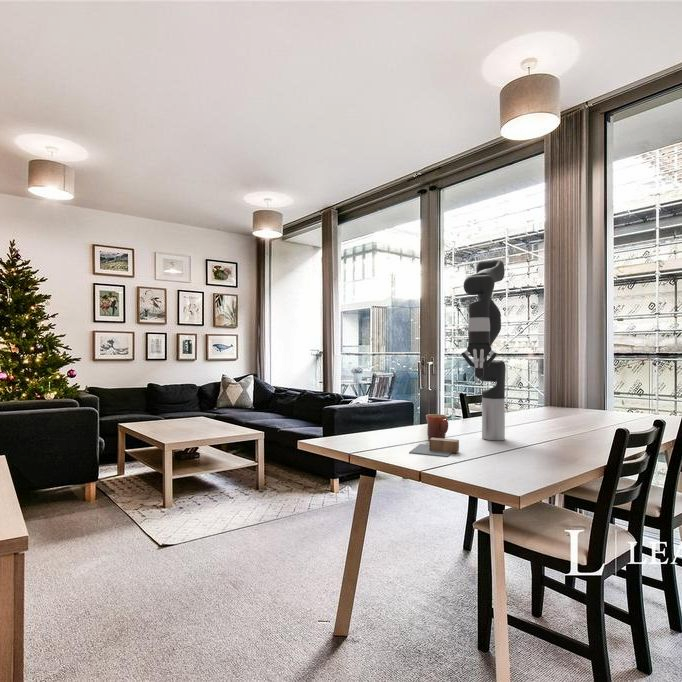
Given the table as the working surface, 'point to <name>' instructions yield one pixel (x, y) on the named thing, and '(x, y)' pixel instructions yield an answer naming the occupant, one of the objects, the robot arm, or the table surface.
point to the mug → (436, 426)
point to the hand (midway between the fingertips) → (479, 378)
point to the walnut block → (444, 445)
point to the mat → (428, 451)
